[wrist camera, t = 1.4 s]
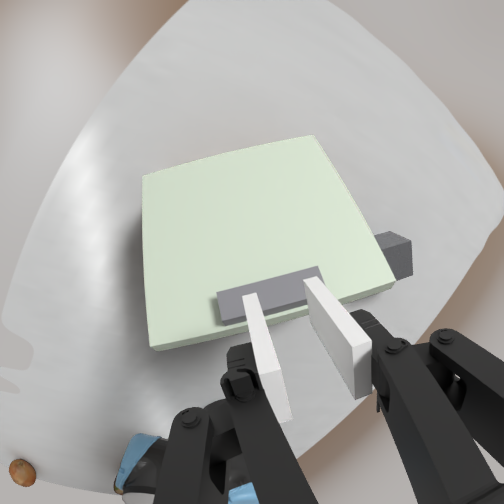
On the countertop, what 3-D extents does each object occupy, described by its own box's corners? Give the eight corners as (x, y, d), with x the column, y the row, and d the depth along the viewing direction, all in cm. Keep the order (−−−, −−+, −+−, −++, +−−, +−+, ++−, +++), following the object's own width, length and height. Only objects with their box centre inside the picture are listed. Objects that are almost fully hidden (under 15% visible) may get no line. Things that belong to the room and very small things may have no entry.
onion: (20, 466, 61) (11, 485, 51) (10, 449, 58) (0, 470, 49) (42, 475, 62) (35, 496, 53) (34, 459, 60) (24, 481, 50)
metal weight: (392, 262, 53) (412, 275, 46) (364, 271, 53) (382, 285, 46) (389, 231, 51) (411, 240, 44) (360, 239, 51) (380, 250, 44)
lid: (391, 288, 25) (400, 273, 22) (156, 351, 24) (143, 342, 22) (312, 144, 36) (313, 126, 33) (146, 184, 35) (139, 168, 32)
